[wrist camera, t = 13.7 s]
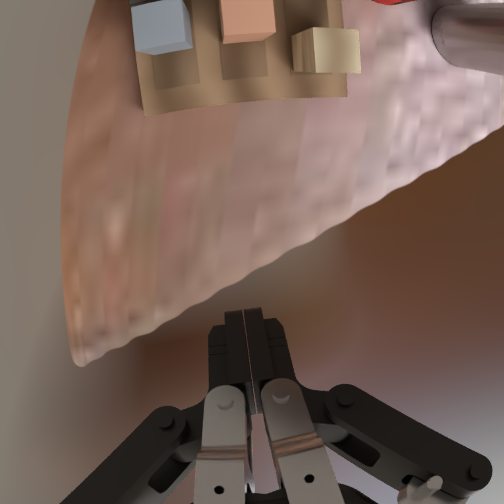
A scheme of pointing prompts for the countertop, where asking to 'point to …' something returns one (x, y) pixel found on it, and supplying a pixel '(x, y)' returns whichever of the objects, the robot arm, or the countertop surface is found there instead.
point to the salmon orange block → (246, 20)
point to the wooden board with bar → (237, 61)
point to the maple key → (326, 50)
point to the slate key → (161, 27)
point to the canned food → (392, 1)
